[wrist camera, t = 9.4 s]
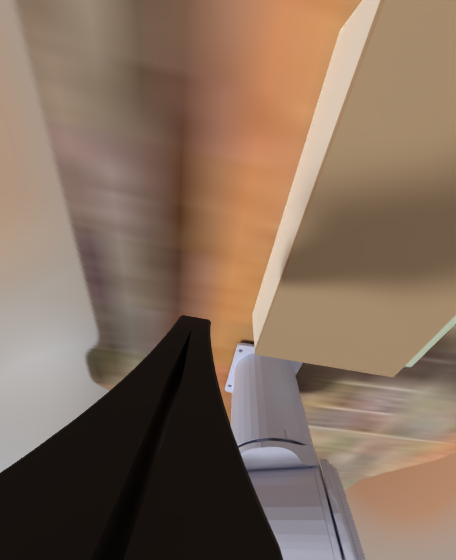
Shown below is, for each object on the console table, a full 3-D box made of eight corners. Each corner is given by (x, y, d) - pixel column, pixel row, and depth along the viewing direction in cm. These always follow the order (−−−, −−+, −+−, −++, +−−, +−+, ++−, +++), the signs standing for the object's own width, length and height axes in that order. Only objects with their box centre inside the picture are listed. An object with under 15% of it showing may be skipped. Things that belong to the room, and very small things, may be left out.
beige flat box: (362, 333, 21) (393, 377, 17) (252, 314, 21) (255, 354, 16) (548, 78, 11) (745, 25, 7) (339, 30, 11) (407, -61, 6)
